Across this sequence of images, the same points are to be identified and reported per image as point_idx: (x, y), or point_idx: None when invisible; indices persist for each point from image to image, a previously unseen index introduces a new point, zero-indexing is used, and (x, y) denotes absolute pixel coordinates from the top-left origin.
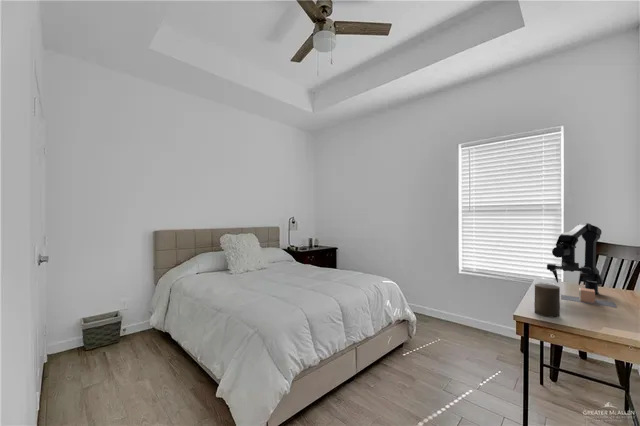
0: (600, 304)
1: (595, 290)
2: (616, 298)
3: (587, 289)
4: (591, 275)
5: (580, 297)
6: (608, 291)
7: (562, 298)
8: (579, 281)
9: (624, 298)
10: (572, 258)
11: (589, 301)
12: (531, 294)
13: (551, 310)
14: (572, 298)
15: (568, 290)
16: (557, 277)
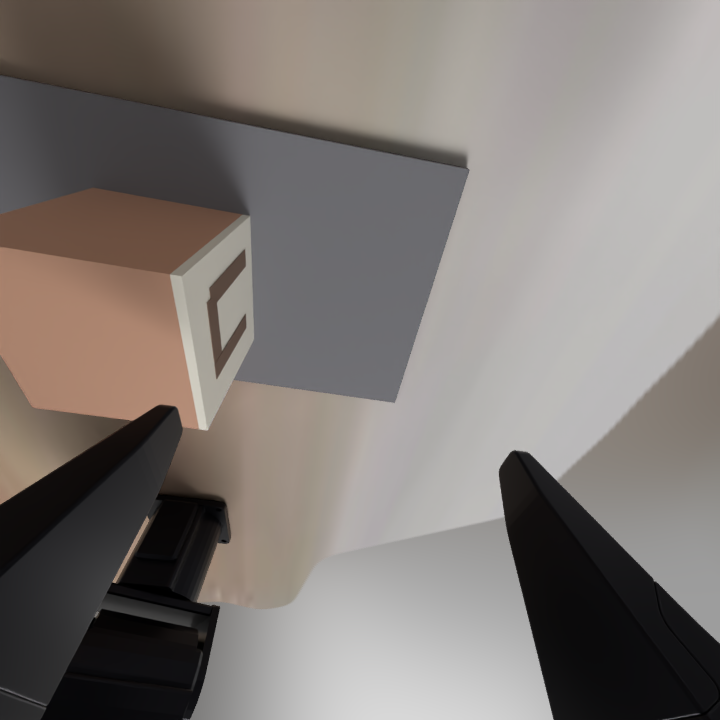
0: (26, 147)
1: (150, 525)
2: (42, 461)
3: (96, 374)
4: (77, 689)
5: (227, 230)
6: (125, 558)
7: (427, 246)
8: (99, 466)
9: (9, 476)
10: None
11: (144, 202)
12: (715, 308)
13: None
14: (317, 301)
15: (313, 522)
16: (589, 566)
